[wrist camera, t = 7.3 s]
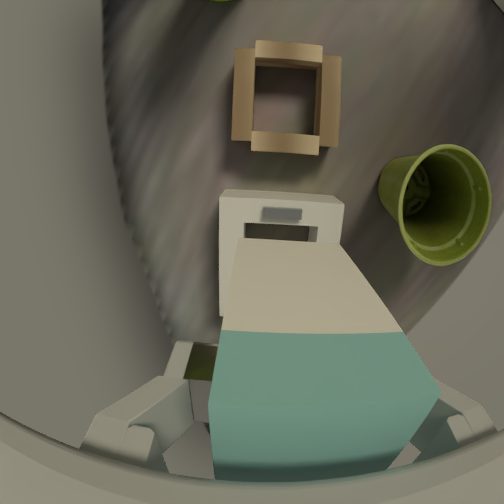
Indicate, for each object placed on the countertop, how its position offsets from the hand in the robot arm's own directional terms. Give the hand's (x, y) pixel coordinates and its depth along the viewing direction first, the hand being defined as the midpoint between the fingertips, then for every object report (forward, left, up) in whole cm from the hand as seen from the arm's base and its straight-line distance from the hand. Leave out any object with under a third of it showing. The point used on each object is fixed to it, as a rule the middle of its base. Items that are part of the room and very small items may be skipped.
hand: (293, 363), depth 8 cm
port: (-1, +4, -20) cm, 20 cm away
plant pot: (-13, -3, -20) cm, 24 cm away
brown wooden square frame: (-1, -10, -20) cm, 23 cm away
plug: (0, 0, -4) cm, 4 cm away
